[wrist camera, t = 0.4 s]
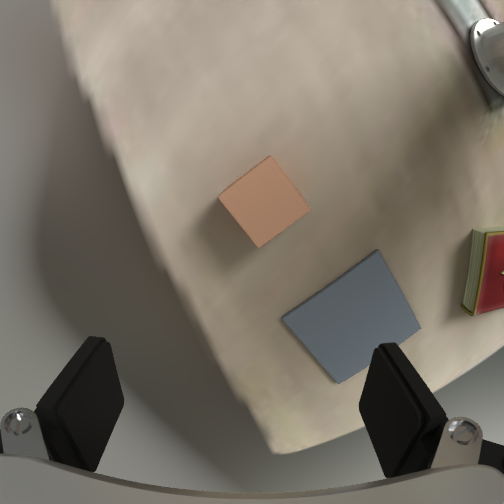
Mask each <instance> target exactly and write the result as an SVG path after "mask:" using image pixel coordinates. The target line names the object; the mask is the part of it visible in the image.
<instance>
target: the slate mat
mask: <svg viewBox="0 0 504 504" xmlns="http://www.w3.org/2000/svg"><path fill="white" fill-rule="evenodd" d="M282 320H283V321H284V322H285V323H286V324H287V325H288V327H289V328H290V329H291V330H292V331H293V333H294V334H295V335H296V336H297V337H298V338H299V340H300V341H301V342H302V343H303V344H304V345H305V347H306V348H307V349H308V350H309V351H310V352H311V353H312V355H313V356H314V357H315V358H316V359H317V360H318V362H319V363H320V364H321V365H322V366H323V367H324V369H325V370H326V371H327V372H328V373H329V374H330V375H331V377H332V378H333V379H334V380H335V381H336V382H337V383H338V384H340V383H342V382H343V381H345V380H347V379H348V378H350V377H351V376H353V375H355V374H356V373H358V372H359V371H361V370H363V369H364V368H366V367H367V366H369V365H370V363H371V359H372V355H373V351H374V349H375V348H378V346H379V344H381V343H392V342H395V343H396V344H397V345H399V344H401V343H402V342H404V341H405V340H406V339H408V338H409V337H410V336H412V335H413V334H414V333H416V332H417V331H418V330H420V329H421V327H420V325H419V323H418V321H417V319H416V317H415V315H414V313H413V311H412V309H411V308H410V306H409V304H408V302H407V300H406V298H405V296H404V295H403V293H402V291H401V289H400V287H399V285H398V284H397V282H396V280H395V278H394V277H393V275H392V273H391V271H390V270H389V268H388V266H387V264H386V263H385V261H384V259H383V258H382V256H381V254H380V252H379V251H378V250H375V251H374V252H373V253H371V254H370V255H369V256H367V257H366V258H365V259H363V260H362V261H361V262H359V263H358V264H356V265H355V266H354V267H352V268H351V269H350V270H348V271H347V272H346V273H344V274H343V275H341V276H340V277H339V278H337V279H336V280H334V281H333V282H332V283H330V284H329V285H327V286H326V287H324V288H323V289H322V290H320V291H319V292H317V293H316V294H314V295H313V296H312V297H310V298H309V299H307V300H306V301H304V302H303V303H301V304H300V305H298V306H297V307H295V308H294V309H292V310H291V311H290V312H288V313H287V314H285V315H284V316H282Z"/></svg>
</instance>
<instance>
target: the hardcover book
mask: <svg viewBox="0 0 504 504" xmlns="http://www.w3.org/2000/svg"><path fill="white" fill-rule="evenodd" d="M461 308H462V309H463V310H464V311H465V312H466V313H468V314H469V315H471V316H474V315H478V314H482V313H485V312H489V311H493V310H496V309H500V308H504V227H496V228H482V229H473V232H472V243H471V253H470V261H469V269H468V276H467V282H466V289H465V294H464V300H463V304H461Z"/></svg>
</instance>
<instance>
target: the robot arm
mask: <svg viewBox="0 0 504 504" xmlns="http://www.w3.org/2000/svg"><path fill="white" fill-rule="evenodd" d="M470 39H471V47H472V51H473V54H474V58H475V60H476V62H477V65H478V67H479V69H480V71H481V72H482V74H483V76H484V77H485V79H486V80H487V82H488V83H489V84H490V85H491V86H492V87H493V88H494V89H495V90H496V91H497V92H498V93H499V94H501V95H502V96H504V22H502V23H499V22H497V21H495V20H492V19H488V18H484V19H481V20H479V21H477V22H476V23H475V24H474V25H473V27H472V29H471V34H470ZM36 406H37V408H36V410H35V411H34V412H33V411H32V410H30V409H28V408H16V409H13V410H10V411H9V412H7V413H6V414H5V416H3V418H2V420H1V423H0V504H504V446H503V445H500V444H496V443H493V442H490V441H486V440H483V439H482V437H483V435H482V430H481V428H480V426H479V425H478V424H477V423H476V422H474V421H473V420H471V419H469V418H465V417H455V418H453V419H450V420H448V418H447V417H446V413H445V411H444V410H443V408H442V407H441V405H440V404H439V403H438V401H437V400H436V398H435V397H434V395H433V394H432V392H431V391H430V389H429V388H428V387H427V385H426V384H425V382H424V381H423V379H422V378H421V377H420V375H419V374H418V372H417V371H416V370H415V368H414V367H413V365H412V364H411V363H410V361H409V360H408V358H407V357H406V356H405V354H404V353H403V352H402V350H401V349H400V348H399V346H398V345H397V344H396V343H395V342H392V343H381V344H379V346H378V348H375V349H374V351H373V355H372V359H371V363H370V367H369V370H368V374H367V378H366V381H365V385H364V388H363V391H362V395H361V398H360V401H359V411H360V414H361V416H362V419H363V421H364V424H365V426H366V429H367V431H368V433H369V436H370V439H371V441H372V444H373V447H374V449H375V452H376V454H377V457H378V460H379V462H380V465H381V467H382V470H383V473H384V475H385V477H386V478H388V479H383V480H379V481H373V482H367V483H362V484H357V485H350V486H344V487H337V488H328V489H320V490H310V491H297V492H281V493H227V492H208V491H196V490H186V489H178V488H170V487H162V486H156V485H149V484H143V483H138V482H133V481H128V480H123V479H119V478H114V477H110V476H105V475H102V474H97V473H93V472H95V471H96V469H97V467H98V464H99V462H100V459H101V457H102V454H103V452H104V450H105V447H106V445H107V443H108V440H109V438H110V436H111V433H112V431H113V429H114V426H115V424H116V422H117V420H118V417H119V415H120V413H121V410H122V408H123V406H124V397H123V393H122V389H121V385H120V382H119V378H118V374H117V370H116V366H115V362H114V358H113V353H112V349H111V345H110V343H109V342H107V341H106V339H105V338H102V337H93V336H89V337H88V338H87V340H86V341H85V342H84V343H83V344H82V346H81V347H80V348H79V349H78V351H77V352H76V353H75V354H74V356H73V357H72V358H71V360H70V361H69V362H68V363H67V365H66V366H65V367H64V369H63V370H62V372H61V373H60V374H59V375H58V376H57V378H56V379H55V380H54V382H53V383H52V384H51V386H50V387H49V389H48V390H47V391H46V393H45V394H44V395H43V397H42V398H41V399H40V401H39V402H38V404H37V405H36Z"/></svg>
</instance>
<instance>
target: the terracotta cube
mask: <svg viewBox="0 0 504 504" xmlns="http://www.w3.org/2000/svg"><path fill="white" fill-rule="evenodd" d="M218 198H219V199H220V201H221V202H222V203H223V204H224V206H225V207H226V208H227V209H228V211H229V212H230V213H231V214H232V216H233V217H234V218H235V219H236V221H237V222H238V223H239V224H240V226H241V227H242V228H243V229H244V231H245V232H246V233H247V234H248V236H249V237H250V238H251V239H252V241H253V242H254V243H255V244H256V246H257V247H258V248H260V247H261V246H263V245H264V244H265V243H267V242H268V241H269V240H271V239H272V238H273V237H275V236H276V235H278V234H279V233H280V232H282V231H283V230H284V229H286V228H287V227H288V226H290V225H291V224H292V223H294V222H295V221H297V220H298V219H299V218H301V217H302V216H303V215H305V214H306V213H307V212H309V211H310V210H311V208H310V207H309V205H308V204H307V203H306V201H305V200H304V198H303V197H302V196H301V194H300V193H299V192H298V190H297V189H296V188H295V186H294V185H293V184H292V182H291V181H290V180H289V178H288V177H287V176H286V174H285V173H284V172H283V170H282V169H281V168H280V166H279V165H278V164H277V162H276V161H275V160H274V159H273V157H272V156H268V157H267V158H265V159H264V160H263V161H261V162H260V163H259V164H257V165H256V166H255V167H253V168H252V169H251V170H249V171H248V172H247V173H245V174H244V175H243V176H241V177H240V178H239V179H238V180H236V181H235V182H234V183H232V184H231V185H230V186H229V187H227V188H226V189H225V190H224V191H223V192H222V193H221V194H220V195H219V196H218Z"/></svg>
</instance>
